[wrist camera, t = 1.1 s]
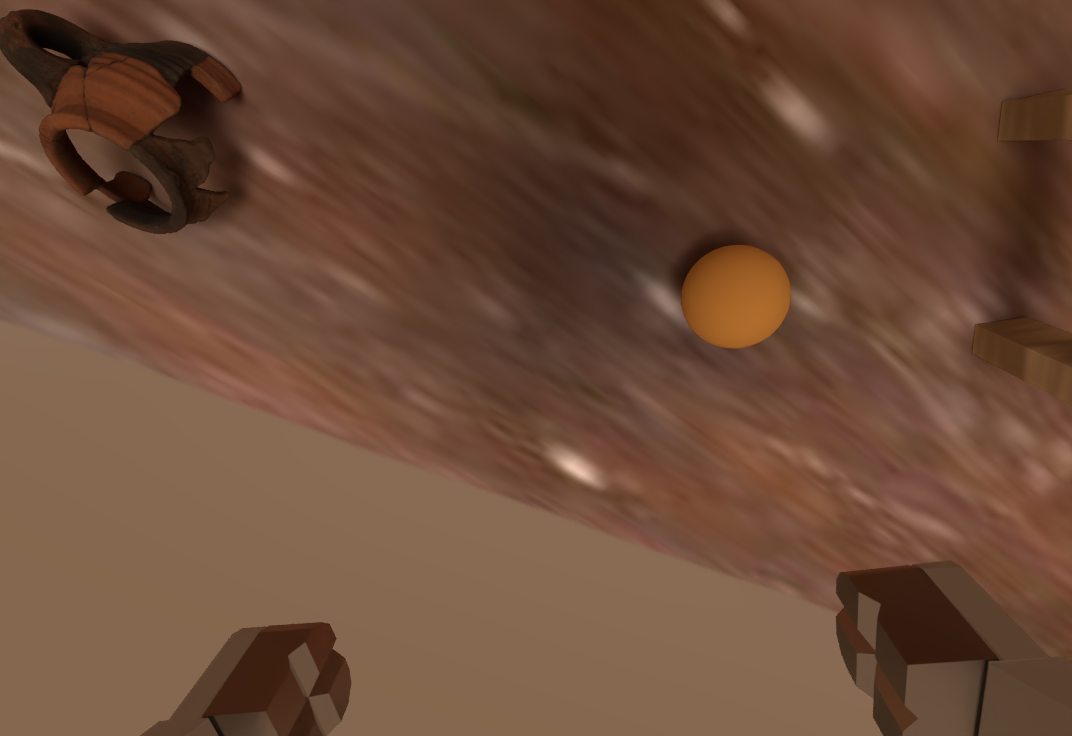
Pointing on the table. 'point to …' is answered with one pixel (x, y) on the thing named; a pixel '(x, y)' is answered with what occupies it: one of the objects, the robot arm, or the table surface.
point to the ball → (735, 296)
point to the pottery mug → (119, 113)
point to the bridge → (1025, 343)
